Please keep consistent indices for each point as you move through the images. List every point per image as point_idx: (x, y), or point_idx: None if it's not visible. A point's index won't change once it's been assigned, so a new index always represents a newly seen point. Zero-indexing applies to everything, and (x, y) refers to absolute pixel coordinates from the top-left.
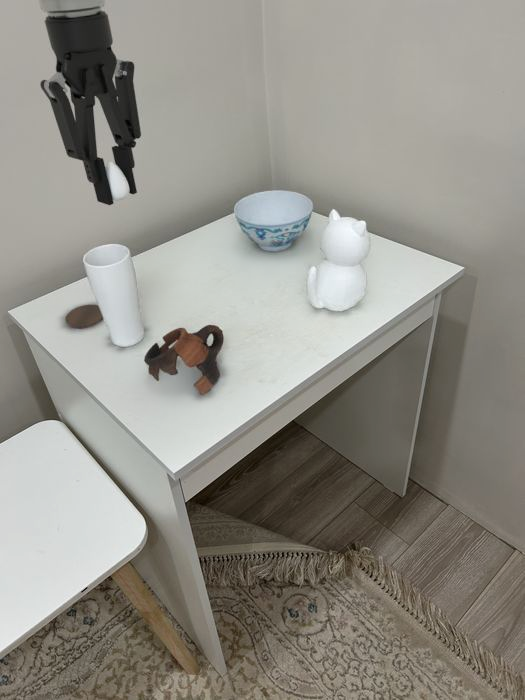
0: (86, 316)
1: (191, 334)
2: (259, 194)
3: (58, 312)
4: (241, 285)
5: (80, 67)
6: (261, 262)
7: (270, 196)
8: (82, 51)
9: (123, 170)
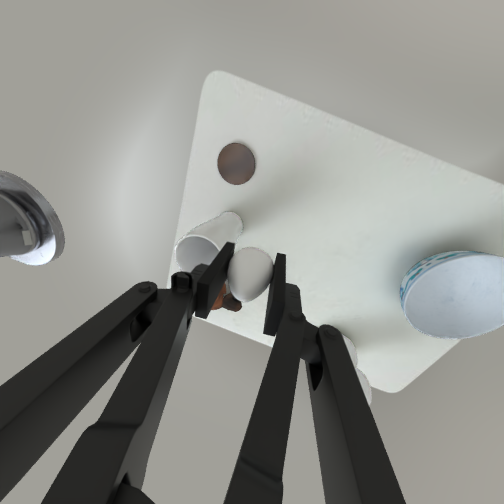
0: (234, 168)
1: (220, 300)
2: None
3: (230, 127)
4: (333, 273)
5: None
6: (381, 275)
7: None
8: None
9: (270, 290)
